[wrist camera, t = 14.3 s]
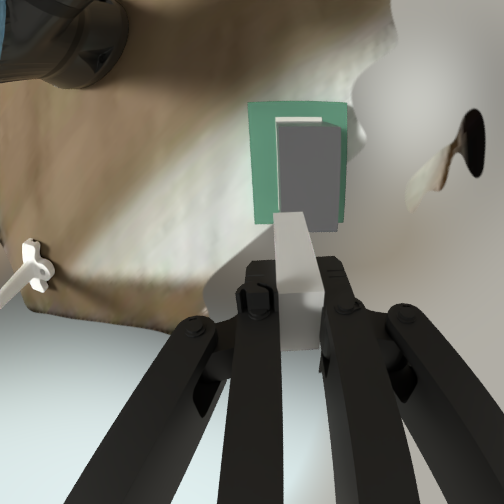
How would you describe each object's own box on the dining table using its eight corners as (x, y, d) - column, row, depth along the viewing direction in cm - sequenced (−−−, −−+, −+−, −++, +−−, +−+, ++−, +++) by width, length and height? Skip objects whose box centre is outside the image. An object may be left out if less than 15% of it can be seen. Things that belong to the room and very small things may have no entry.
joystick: (25, 236, 45) (-39, 294, 27) (51, 243, 45) (-15, 308, 28) (35, 281, 50) (-17, 342, 33) (60, 290, 51) (8, 357, 33)
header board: (248, 102, 33) (244, 102, 28) (343, 102, 33) (356, 103, 27) (255, 218, 41) (253, 237, 36) (340, 216, 40) (350, 235, 35)
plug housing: (276, 121, 33) (278, 126, 26) (325, 121, 32) (341, 127, 25) (279, 206, 38) (281, 232, 31) (324, 205, 37) (337, 231, 30)
